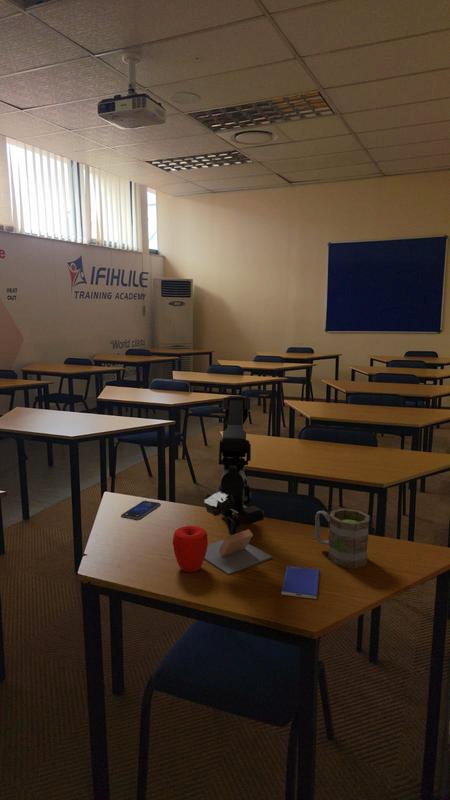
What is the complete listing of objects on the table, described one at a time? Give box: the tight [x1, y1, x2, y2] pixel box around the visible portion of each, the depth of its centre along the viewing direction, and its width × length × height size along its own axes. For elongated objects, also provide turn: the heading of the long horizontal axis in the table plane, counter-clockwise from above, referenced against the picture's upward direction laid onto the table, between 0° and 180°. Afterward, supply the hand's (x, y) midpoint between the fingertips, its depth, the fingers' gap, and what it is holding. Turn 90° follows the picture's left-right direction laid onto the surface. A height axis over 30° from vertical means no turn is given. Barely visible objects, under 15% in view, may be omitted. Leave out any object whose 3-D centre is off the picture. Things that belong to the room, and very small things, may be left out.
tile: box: [219, 528, 254, 557], centre depth 136 cm, size 8×2×6 cm
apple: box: [172, 525, 209, 573], centre depth 129 cm, size 9×9×11 cm
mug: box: [314, 508, 371, 569], centre depth 136 cm, size 16×11×12 cm
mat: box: [204, 539, 273, 575], centre depth 137 cm, size 15×16×1 cm
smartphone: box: [120, 500, 162, 521], centre depth 168 cm, size 7×1×15 cm
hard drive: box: [280, 565, 320, 600], centre depth 123 cm, size 2×8×12 cm
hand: (233, 536), depth 137 cm, fingers closed
